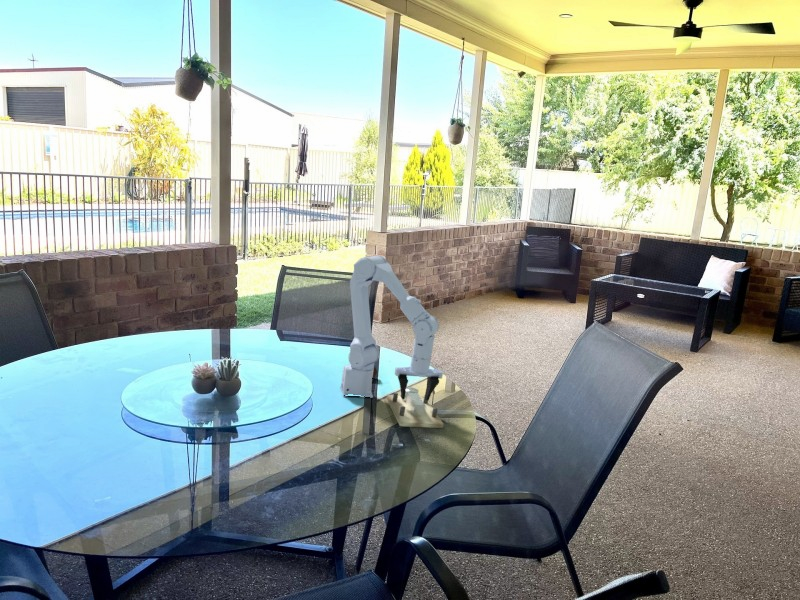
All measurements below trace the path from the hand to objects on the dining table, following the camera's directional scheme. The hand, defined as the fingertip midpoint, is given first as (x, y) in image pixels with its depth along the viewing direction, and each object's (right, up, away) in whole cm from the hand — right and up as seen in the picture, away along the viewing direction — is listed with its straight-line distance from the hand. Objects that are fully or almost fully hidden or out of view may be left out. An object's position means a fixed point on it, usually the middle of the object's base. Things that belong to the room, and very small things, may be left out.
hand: (414, 398), depth 177 cm
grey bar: (-1, -3, +1) cm, 3 cm away
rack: (0, -4, 0) cm, 4 cm away
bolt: (-18, +4, +29) cm, 35 cm away
